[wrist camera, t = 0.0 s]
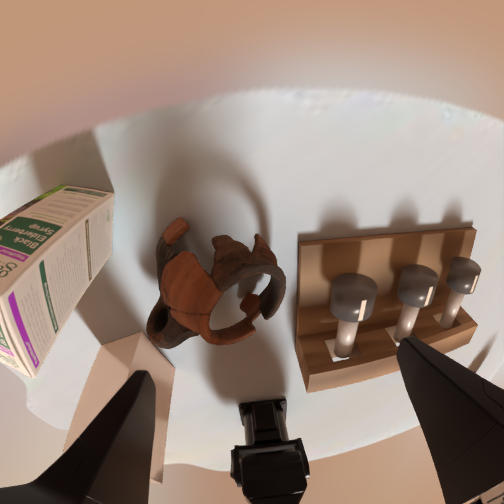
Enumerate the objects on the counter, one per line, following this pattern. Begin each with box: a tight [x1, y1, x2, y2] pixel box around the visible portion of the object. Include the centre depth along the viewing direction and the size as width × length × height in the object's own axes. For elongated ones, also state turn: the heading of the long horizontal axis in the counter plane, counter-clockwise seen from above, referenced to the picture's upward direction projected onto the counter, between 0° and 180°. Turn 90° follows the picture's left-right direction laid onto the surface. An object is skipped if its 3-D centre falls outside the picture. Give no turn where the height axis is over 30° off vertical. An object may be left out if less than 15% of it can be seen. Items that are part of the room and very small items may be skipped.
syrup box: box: [0, 185, 114, 378], centre depth 14 cm, size 6×6×14 cm
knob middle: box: [393, 264, 439, 343], centre depth 23 cm, size 8×4×4 cm, turn 4°
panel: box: [295, 227, 478, 393], centre depth 23 cm, size 13×22×6 cm, turn 94°
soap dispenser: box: [63, 332, 175, 484], centre depth 18 cm, size 6×9×22 cm
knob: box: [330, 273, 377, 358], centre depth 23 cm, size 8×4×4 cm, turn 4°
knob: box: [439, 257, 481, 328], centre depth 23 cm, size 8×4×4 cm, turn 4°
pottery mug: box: [146, 218, 286, 349], centre depth 21 cm, size 12×10×8 cm
